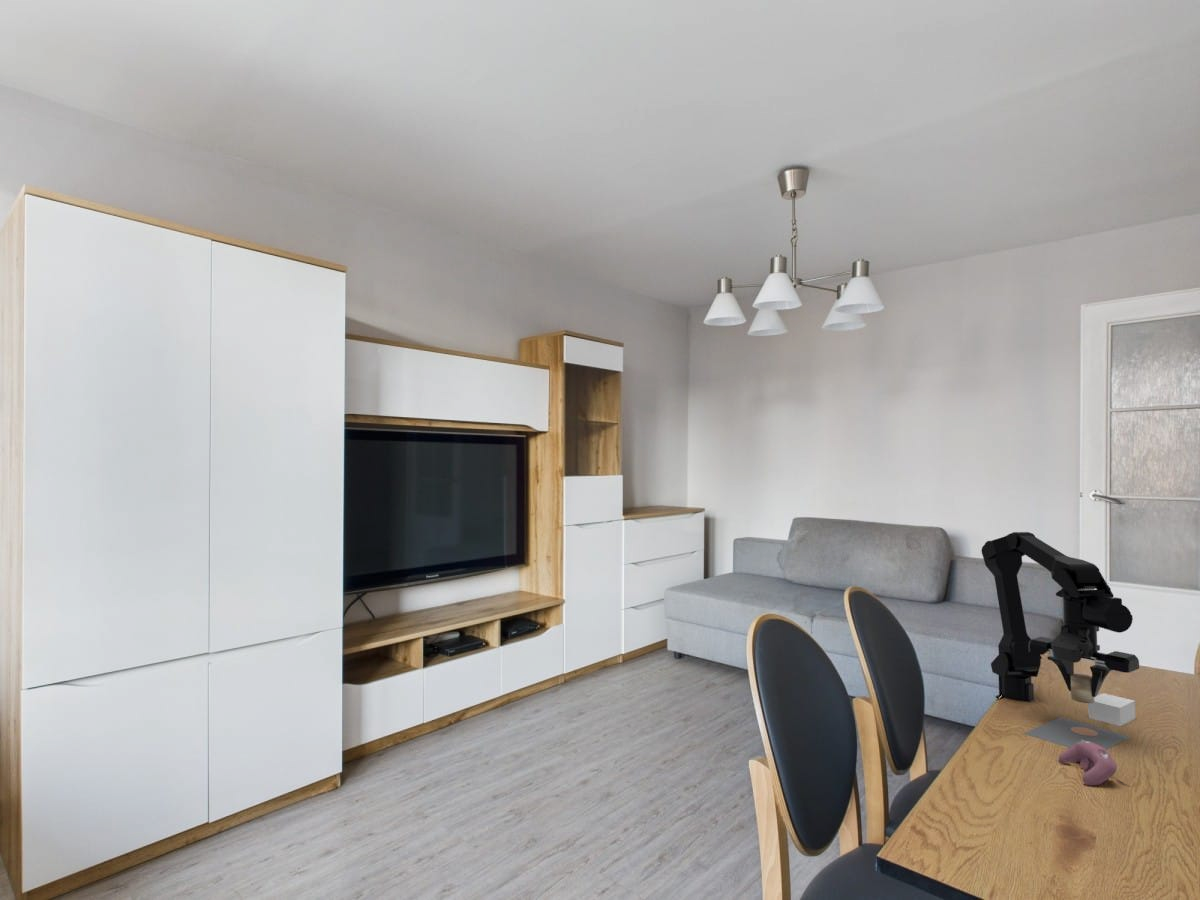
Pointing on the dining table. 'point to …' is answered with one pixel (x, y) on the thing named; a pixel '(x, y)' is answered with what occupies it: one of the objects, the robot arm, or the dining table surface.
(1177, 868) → the dining table surface
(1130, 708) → the white rectangular block
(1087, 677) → the beige cylinder
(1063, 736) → the board
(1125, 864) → the dining table surface
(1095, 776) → the video game controller
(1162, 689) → the dining table surface
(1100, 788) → the dining table surface
